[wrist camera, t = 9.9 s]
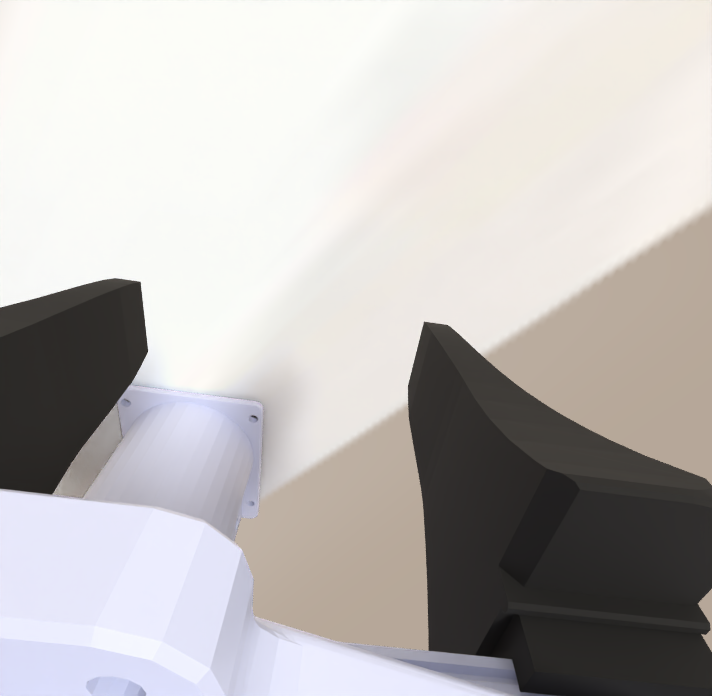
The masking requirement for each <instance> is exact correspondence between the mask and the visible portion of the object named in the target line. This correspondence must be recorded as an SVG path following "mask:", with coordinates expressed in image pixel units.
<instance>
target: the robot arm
mask: <svg viewBox="0 0 712 696" xmlns="http://www.w3.org/2000/svg"><path fill="white" fill-rule="evenodd" d="M147 353H148V346H147V337H146V328H145V319H144V310H143V301H142V292H141V282H138V281H131V280H123V279H116V278H115V279H107V280H102V281H98V282H93V283H89V284H86V285H82V286H78V287H75V288H71V289H68V290H64V291H61V292H57V293H54V294H50V295H47V296H43V297H40V298H36V299H32V300H28V301H25V302H21V303H17V304H13V305H9V306H5V307H1V308H0V696H712V652H711V650H710V649H709V647H708V646H707V644H706V642H705V640H704V639H703V637H702V635H701V634H705V635H706V634H707V633H708V632H709V631H710V623H709V621H708V620H707V618H706V617H705V615H704V613H703V612H702V610H701V609H700V607H699V605H698V603H699V601H700V600H701V599H702V598H703V597H704V596H705V595H706V594H707V593H708V592H709V591H710V590H711V589H712V485H711V484H710V483H709V482H708V481H707V480H706V479H705V478H703V477H700V476H697V475H695V474H692V473H689V472H687V471H684V470H681V469H679V468H676V467H673V466H671V465H668V464H666V463H663V462H660V461H658V460H655V459H652V458H650V457H647V456H645V455H642V454H640V453H638V452H635V451H633V450H631V449H629V448H626V447H624V446H622V445H620V444H617V443H615V442H613V441H611V440H608V439H607V438H605V437H603V436H600V435H599V434H597V433H594V432H592V431H590V430H589V429H587V428H585V427H583V426H581V425H579V424H577V423H576V422H574V421H572V420H570V419H568V418H566V417H565V416H563V415H561V414H560V413H558V412H556V411H555V410H553V409H551V408H550V407H548V406H547V405H545V404H544V403H542V402H541V401H539V400H538V399H536V398H535V397H533V396H531V395H530V394H529V393H527V392H526V391H524V390H523V389H522V388H520V387H519V386H517V385H516V384H515V383H514V382H512V381H511V380H510V379H509V378H507V377H506V376H505V375H504V374H502V373H501V372H500V371H499V370H498V369H496V368H495V367H494V366H493V365H492V364H491V363H489V362H488V361H487V360H486V359H485V358H484V357H483V356H482V355H481V354H479V353H478V352H477V351H476V350H475V349H474V348H473V347H472V346H471V345H470V344H469V343H468V342H467V341H465V340H464V339H463V338H462V337H461V336H460V335H459V334H458V333H457V332H456V331H455V330H453V329H452V328H451V327H449V326H448V325H443V324H436V323H429V322H424V325H423V329H422V332H421V336H420V340H419V344H418V348H417V352H416V356H415V360H414V364H413V368H412V372H411V376H410V380H409V384H408V408H409V421H410V428H411V433H412V439H413V445H414V451H415V456H416V462H417V467H418V473H419V479H420V485H421V491H422V498H423V509H424V525H425V541H426V564H427V587H428V588H427V590H428V628H429V651H425V650H415V649H405V648H395V647H385V646H376V645H366V644H356V643H345V642H338V641H334V640H331V639H328V638H324V637H321V636H318V635H315V634H312V633H308V632H305V631H302V630H298V629H295V628H292V627H288V626H285V625H282V624H278V623H275V622H272V621H269V620H266V619H262V618H259V617H256V616H254V615H253V609H252V606H253V585H254V579H253V576H252V574H251V571H250V569H249V566H248V564H247V561H246V559H245V556H244V553H243V551H242V549H241V548H240V547H239V546H238V545H237V544H236V543H235V542H234V540H235V537H236V533H237V530H238V526H239V523H240V520H241V518H255V517H257V515H258V512H259V497H260V477H261V457H262V437H263V417H264V407H263V405H262V404H261V403H259V402H257V401H251V400H243V399H235V398H227V397H220V396H212V395H204V394H196V393H188V392H181V391H173V390H165V389H157V388H150V387H142V386H134V385H130V384H131V383H132V381H133V379H134V378H135V376H136V374H137V372H138V370H139V369H140V367H141V365H142V363H143V361H144V359H145V357H146V355H147ZM125 399H126V400H128V401H130V402H127V401H126V400H125ZM116 403H117V405H118V412H119V418H120V424H121V430H122V436H123V439H122V441H121V442H120V444H119V445H118V447H117V448H116V450H115V451H114V452H113V454H112V455H111V457H110V458H109V460H108V461H107V463H106V464H105V466H104V467H103V468H102V470H101V471H100V473H99V474H98V476H97V477H96V479H95V480H94V482H93V483H92V485H91V486H90V487H89V489H88V490H87V492H86V493H85V495H84V496H83V498H77V497H68V496H59V495H52V494H53V492H54V491H55V489H56V487H57V486H58V484H59V482H60V481H61V479H62V477H63V476H64V474H65V472H66V471H67V469H68V467H69V466H70V464H71V462H72V461H73V460H74V458H75V457H76V455H77V454H78V452H79V451H80V450H81V448H82V447H83V446H84V444H85V443H86V442H87V440H88V439H89V438H90V436H91V435H92V434H93V433H94V431H95V430H96V429H97V427H98V426H99V425H100V424H101V422H102V421H103V420H104V418H105V417H106V416H107V414H108V413H109V412H110V411H111V409H112V408H113V407H114V405H115V404H116ZM251 415H254V416H256V417H257V418H253V417H251Z"/></svg>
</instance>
